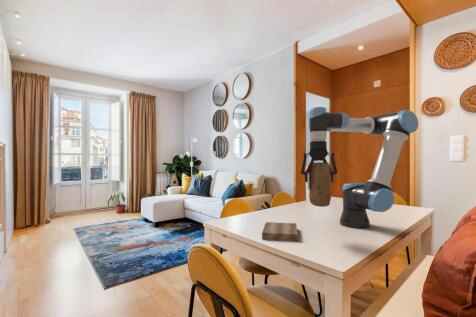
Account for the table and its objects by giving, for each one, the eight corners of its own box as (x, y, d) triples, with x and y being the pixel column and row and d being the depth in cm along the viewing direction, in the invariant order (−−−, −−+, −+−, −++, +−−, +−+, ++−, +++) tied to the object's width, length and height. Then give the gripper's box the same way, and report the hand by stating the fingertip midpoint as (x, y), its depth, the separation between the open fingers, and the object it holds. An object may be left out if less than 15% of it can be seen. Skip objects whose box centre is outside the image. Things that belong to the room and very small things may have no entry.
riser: (296, 229, 130) (296, 223, 130) (297, 241, 112) (297, 234, 112) (265, 227, 134) (265, 222, 134) (262, 239, 115) (262, 232, 115)
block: (332, 206, 111) (332, 162, 111) (317, 207, 110) (316, 162, 110) (321, 202, 122) (320, 161, 121) (306, 203, 120) (305, 162, 120)
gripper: (294, 141, 114) (295, 190, 114) (344, 139, 110) (345, 190, 110) (294, 142, 121) (295, 188, 121) (340, 140, 117) (341, 188, 117)
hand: (318, 189), depth 116 cm, fingers closed on block, 9 cm apart
